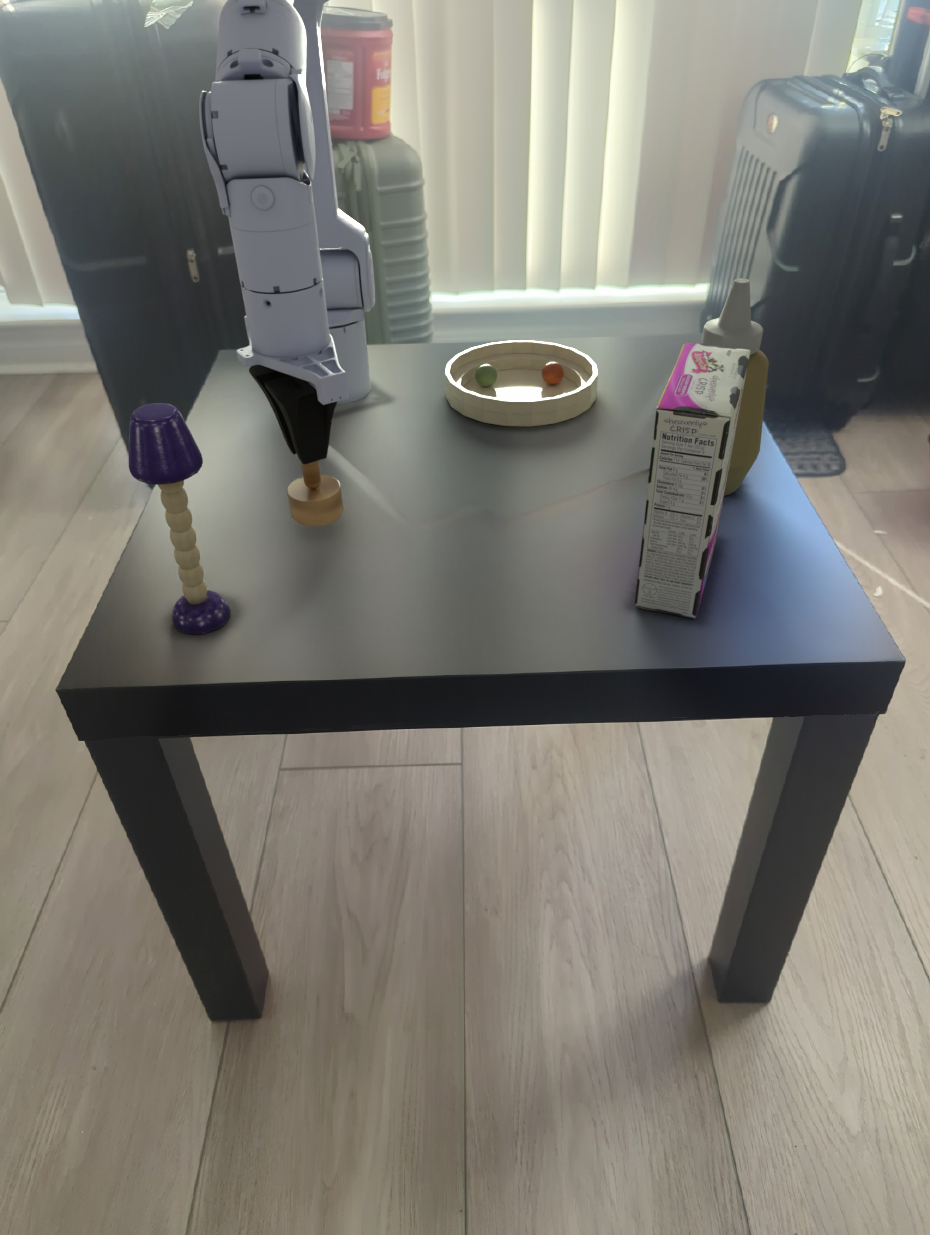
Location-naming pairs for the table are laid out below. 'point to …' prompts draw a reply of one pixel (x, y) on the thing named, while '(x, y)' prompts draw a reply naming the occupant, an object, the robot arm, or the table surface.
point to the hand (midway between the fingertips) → (308, 454)
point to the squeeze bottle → (745, 334)
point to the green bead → (486, 375)
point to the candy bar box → (689, 476)
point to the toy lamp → (176, 507)
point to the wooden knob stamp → (315, 497)
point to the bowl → (521, 383)
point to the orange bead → (552, 373)
